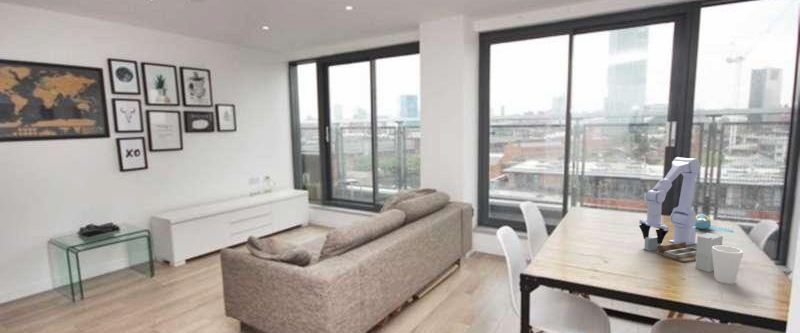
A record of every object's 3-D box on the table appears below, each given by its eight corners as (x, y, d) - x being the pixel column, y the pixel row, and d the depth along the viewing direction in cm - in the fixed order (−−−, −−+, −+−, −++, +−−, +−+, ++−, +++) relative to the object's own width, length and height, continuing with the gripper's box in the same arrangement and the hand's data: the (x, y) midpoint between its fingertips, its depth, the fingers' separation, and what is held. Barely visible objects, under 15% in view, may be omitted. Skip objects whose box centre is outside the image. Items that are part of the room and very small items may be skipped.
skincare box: (705, 264, 174) (707, 232, 172) (721, 269, 169) (723, 235, 167) (694, 268, 171) (696, 235, 169) (710, 273, 165) (712, 238, 163)
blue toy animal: (733, 214, 223) (735, 221, 212) (732, 229, 225) (733, 236, 213) (673, 208, 241) (671, 214, 229) (673, 222, 242) (671, 228, 230)
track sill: (683, 249, 194) (684, 241, 194) (711, 257, 182) (711, 249, 181) (657, 253, 189) (657, 245, 189) (683, 262, 177) (683, 254, 177)
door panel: (656, 247, 198) (657, 235, 198) (660, 248, 196) (661, 236, 196) (644, 249, 196) (644, 237, 195) (647, 250, 194) (648, 238, 193)
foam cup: (703, 276, 162) (706, 246, 160) (724, 275, 163) (727, 244, 161) (724, 286, 153) (727, 253, 151) (746, 284, 153) (749, 252, 152)
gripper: (635, 211, 200) (633, 237, 201) (661, 218, 186) (659, 246, 188) (646, 210, 202) (644, 236, 203) (672, 217, 188) (671, 244, 190)
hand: (652, 241), depth 196 cm, fingers open, 7 cm apart
